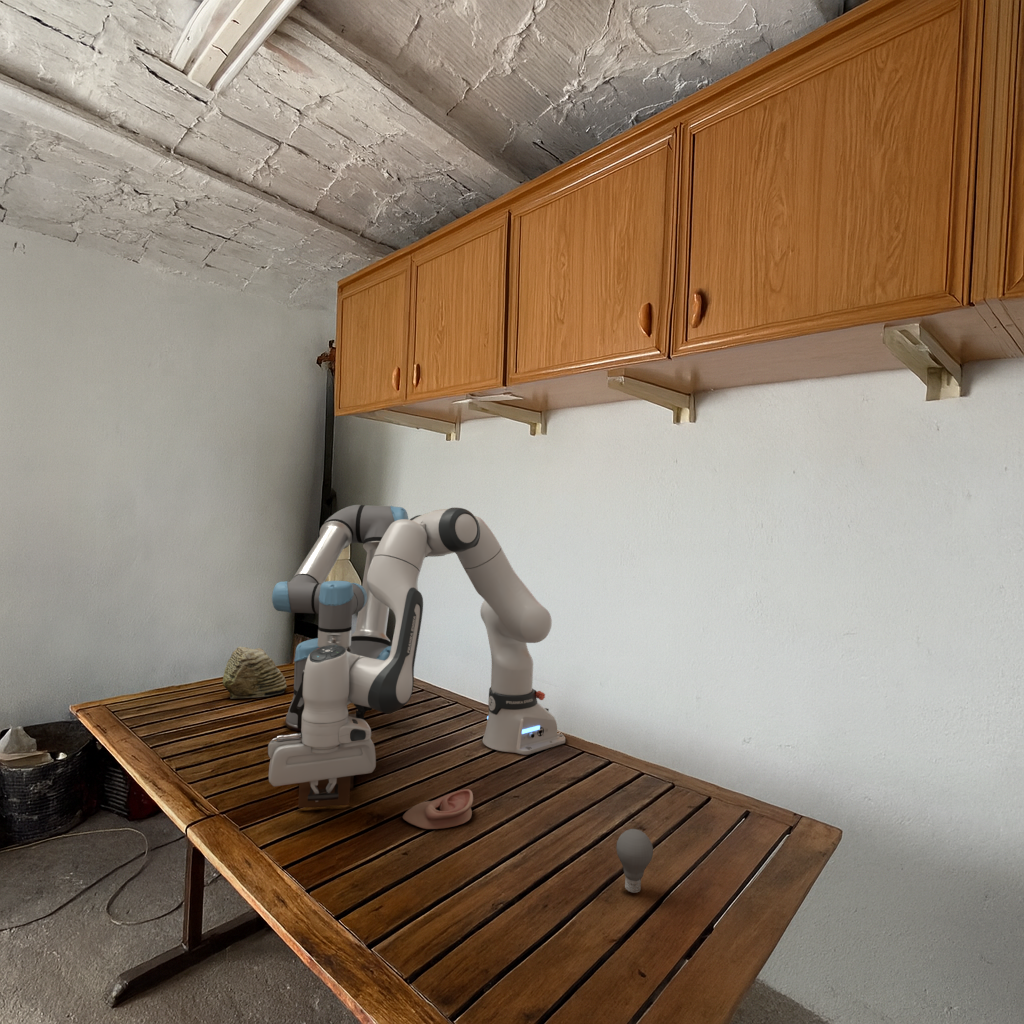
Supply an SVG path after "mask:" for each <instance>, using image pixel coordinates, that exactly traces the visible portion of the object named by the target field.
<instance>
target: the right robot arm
mask: <svg viewBox="0 0 1024 1024" xmlns="http://www.w3.org/2000/svg"><path fill="white" fill-rule="evenodd" d="M450 554H451V555H452V554H456V556H457V558H458V560H459V562H460V564H461V566H462V568H463V570H464V571H465V573H466V575H467V577H468V578H469V580H470V582H471V584H472V586H473V587H474V589H475V591H476V592H477V594H478V595H479V596H481V598H482V599H483V601H482V603H481V606H480V611H479V612H480V618H481V620H482V622H483V624H484V626H485V630H486V634H487V638H488V645H489V649H490V657H491V659H490V660H491V668H490V669H491V670H490V671H491V672H490V673H491V674H490V675H491V676H490V687H489V688H488V703H487V705H488V715H487V717H486V720H487V722H486V726H485V730H484V733H483V737H482V744H483V745H484V746H486V747H487V748H489V749H491V750H495V751H499V752H504V753H515V754H519V755H524V756H528V755H531V754H534V753H535V754H536V753H538V752H542V751H544V750H548V749H550V748H554V747H557V746H560V745H564V744H565V743H566V737H565V735H564V734H563V733H562V732H561V731H559V730H558V723H557V720H556V717H555V716H554V715H553V714H552V713H551V712H550V711H549V708H547V707H544V706H542V704H540V703H539V702H538V700H539V701H544V700H545V699H546V694H545V692H543V691H541V690H538V691H537V690H536V689H534V688H533V681H534V659H533V656H532V655H531V653H530V651H529V648H528V644H537V643H540V642H542V641H544V640H545V639H546V638H547V637H548V635H549V634H550V632H551V629H552V625H553V624H552V623H553V620H552V616H551V613H550V611H549V610H548V609H547V608H546V607H544V605H542V604H541V602H539V601H538V600H537V598H536V596H534V594H533V593H532V592H531V590H530V589H529V588H528V587H527V585H526V584H525V583H524V581H522V579H521V578H520V577H519V575H518V574H517V573H516V571H515V570H514V568H513V567H512V564H511V562H510V561H509V559H508V557H507V555H506V553H505V551H504V549H503V548H502V546H501V544H500V542H499V540H498V539H497V537H496V536H495V534H494V533H493V531H492V529H491V528H490V527H489V526H488V525H487V523H486V522H485V521H484V520H483V519H482V518H481V517H479V516H476V515H474V514H473V513H472V512H471V511H470V510H468V509H466V508H463V507H449V508H442V509H434V510H431V511H429V512H426V513H423V514H418V515H415V516H413V517H411V518H409V520H407V519H400V520H397V521H394V522H393V523H392V524H391V525H390V526H389V527H388V529H387V531H386V532H385V534H384V536H383V537H382V539H381V541H380V543H379V545H378V547H377V549H376V552H375V554H374V557H373V559H372V562H371V564H370V567H369V570H368V574H367V584H368V587H369V589H370V591H371V593H372V594H373V596H374V597H375V598H376V599H378V600H379V601H380V602H381V603H383V604H384V605H386V606H387V607H389V610H390V611H392V613H393V614H394V617H395V627H394V630H393V637H392V641H391V645H390V646H391V651H390V655H389V657H388V658H387V659H386V660H379V659H373V658H369V657H365V656H360V655H355V654H352V653H350V652H348V651H347V650H346V648H344V647H342V646H338V645H329V646H322V647H319V648H317V649H315V650H313V651H312V652H311V653H310V654H309V656H308V658H307V661H306V665H305V670H304V678H303V699H304V710H303V713H302V724H301V731H300V732H297V733H291V734H281V735H277V736H276V737H274V738H272V739H271V740H270V741H269V742H268V744H267V757H268V758H269V759H270V760H269V765H268V777H267V778H268V783H269V784H270V785H271V786H272V787H282V786H289V785H296V784H299V783H303V782H310V786H311V788H312V789H313V791H314V793H315V794H324V793H330V792H331V791H332V789H333V788H334V786H335V784H336V781H337V778H339V777H346V776H353V775H354V776H360V775H367V774H372V773H373V772H374V771H375V770H376V767H377V755H376V754H377V753H376V747H375V744H374V742H373V740H372V729H371V727H370V724H368V722H367V721H366V720H365V719H364V720H363V719H359V718H354V717H350V716H348V714H349V708H348V705H350V704H353V705H354V704H357V705H361V706H366V707H370V708H372V710H374V711H376V712H377V711H378V712H380V713H383V714H385V715H390V714H393V713H396V712H398V711H400V710H401V709H402V708H403V707H404V706H406V705H407V704H408V702H409V701H410V700H411V699H412V696H413V692H414V683H415V662H416V657H417V651H418V644H419V639H420V633H421V632H420V631H421V627H422V620H423V613H424V597H423V595H422V593H421V592H420V591H419V588H418V586H419V585H418V584H419V578H420V573H421V571H422V567H423V563H424V560H425V558H428V557H429V558H431V557H433V558H434V557H435V558H436V557H437V558H438V557H445V556H447V555H450ZM557 732H559V733H557ZM560 733H561V734H560ZM325 779H328V781H329V783H328V785H327V787H326V788H325V789H318V788H317V785H318V780H325ZM319 801H326V800H319ZM319 801H315V802H319Z"/></svg>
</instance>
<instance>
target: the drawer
mask: <svg viewBox="0 0 1024 1024" xmlns="http://www.w3.org/2000/svg"><path fill="white" fill-rule="evenodd" d="M328 783H329V781H328V779H325V780H318V785H317V788H318V789H325V788H326V787H327V785H328ZM350 798H351V789H350V776H346V777H339V778H337V781H336V784H335V786H334V788H333V789H332V791H331V792H330V793H324V794H315V793H314V791H313V789H312V788H311V786H310V782H303V783H298V802H297V803H298V804H297V805H298V806H297V807H298V809H303V808H304V809H305V808H318V807H333V806H346V805H350ZM319 800H326V801H319ZM315 801H319V802H315Z"/></svg>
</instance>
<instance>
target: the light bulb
mask: <svg viewBox="0 0 1024 1024" xmlns="http://www.w3.org/2000/svg"><path fill="white" fill-rule="evenodd" d="M615 849H616V854H617V857H618V859H619V861H620V863H621V865H622V867H623V873H624V874H623V875H624V876H625V878H624V888H625V890H627V891H628V892H630V893H634V894H635V893H639V892H640V891H641V889H642V887H641V886H642V879H643V877H644V875H645V871H646V868H647V867H648V866H649V864H650V863H651V861H652V859H653V855H654V847H653V843H652V841H651V838H649V836H648V835H647V834H646V833H645V832H643V831H642V830H641V829H636V828H629V829H627V830H625V831H623V832H622V833H621V834H620V835H619V837H618V839H617V841H616V847H615Z"/></svg>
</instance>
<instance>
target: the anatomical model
mask: <svg viewBox="0 0 1024 1024" xmlns="http://www.w3.org/2000/svg"><path fill="white" fill-rule="evenodd" d="M473 794H474V793H473V791H472V790H471V789H468V788H467V789H466V788H465V789H460V790H459V789H458V790H457V791H452V792H450V793H447V794H444V795H443V796H440V797H438V798H436V799H433V800H428V801H422V802H419V803H418V804H415V805H414V806H412V807H411V808H409V809H407V810H406V811H405V813H404V814H403V815H402V819H403V820H404V822H405V821H406V822H407V823H408V824H410V825H412V826H415V827H416V828H417V827H418V828H420V829H423V830H439V829H448V828H452V827H457V826H460V825H463V824H465V823H467V822H468V821H470V820H471V819H472V816H473V815H472V814H473V810H472V808H471V807H472V805H473V802H474V795H473Z"/></svg>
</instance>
